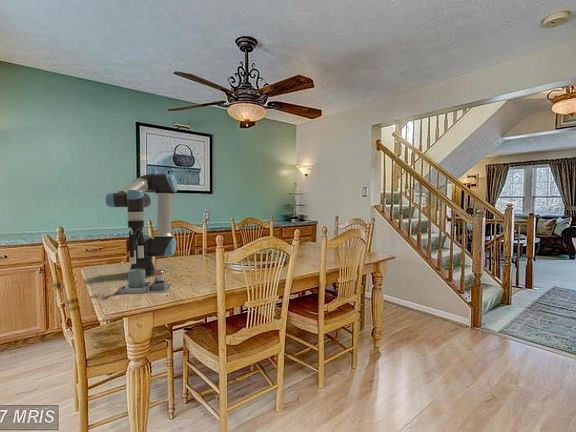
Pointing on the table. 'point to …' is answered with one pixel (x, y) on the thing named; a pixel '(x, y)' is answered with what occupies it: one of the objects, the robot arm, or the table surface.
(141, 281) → the cup
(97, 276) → the table surface
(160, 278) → the plunger
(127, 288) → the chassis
